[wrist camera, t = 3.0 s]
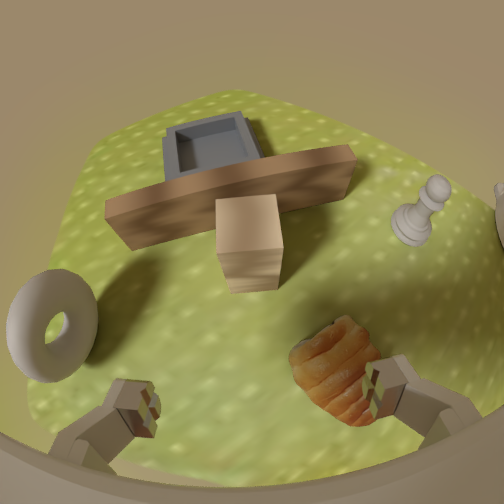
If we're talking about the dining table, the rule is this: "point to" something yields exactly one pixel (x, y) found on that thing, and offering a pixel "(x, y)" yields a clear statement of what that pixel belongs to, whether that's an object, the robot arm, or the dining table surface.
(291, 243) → the dining table surface
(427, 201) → the chess piece
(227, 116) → the seat block
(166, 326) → the dining table surface
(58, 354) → the donut
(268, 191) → the door edge
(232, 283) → the block
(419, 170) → the dining table surface
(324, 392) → the pastry
